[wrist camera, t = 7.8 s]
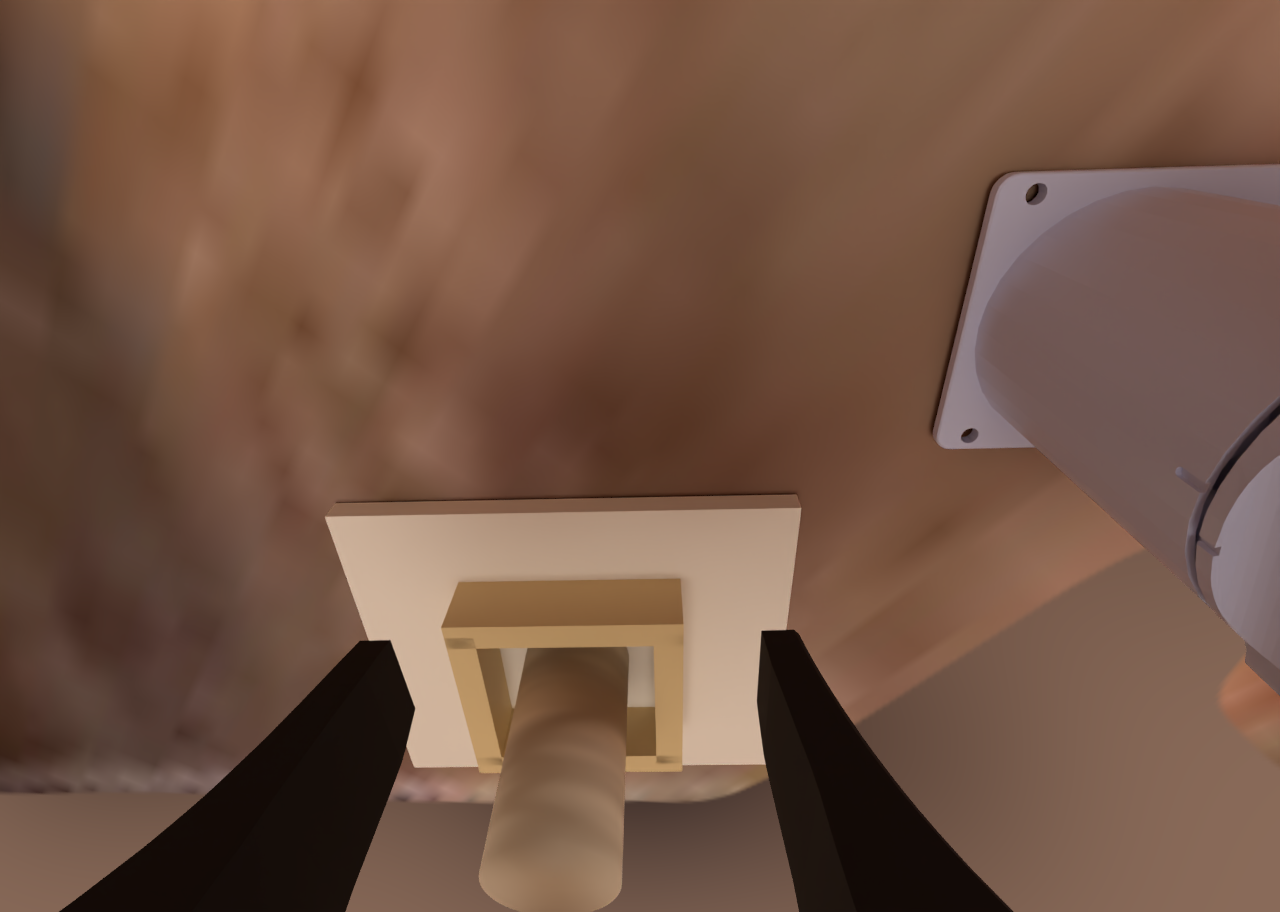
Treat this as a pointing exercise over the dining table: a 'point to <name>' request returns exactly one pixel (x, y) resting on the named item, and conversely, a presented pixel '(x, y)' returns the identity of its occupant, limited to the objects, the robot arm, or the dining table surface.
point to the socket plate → (576, 612)
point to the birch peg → (562, 785)
